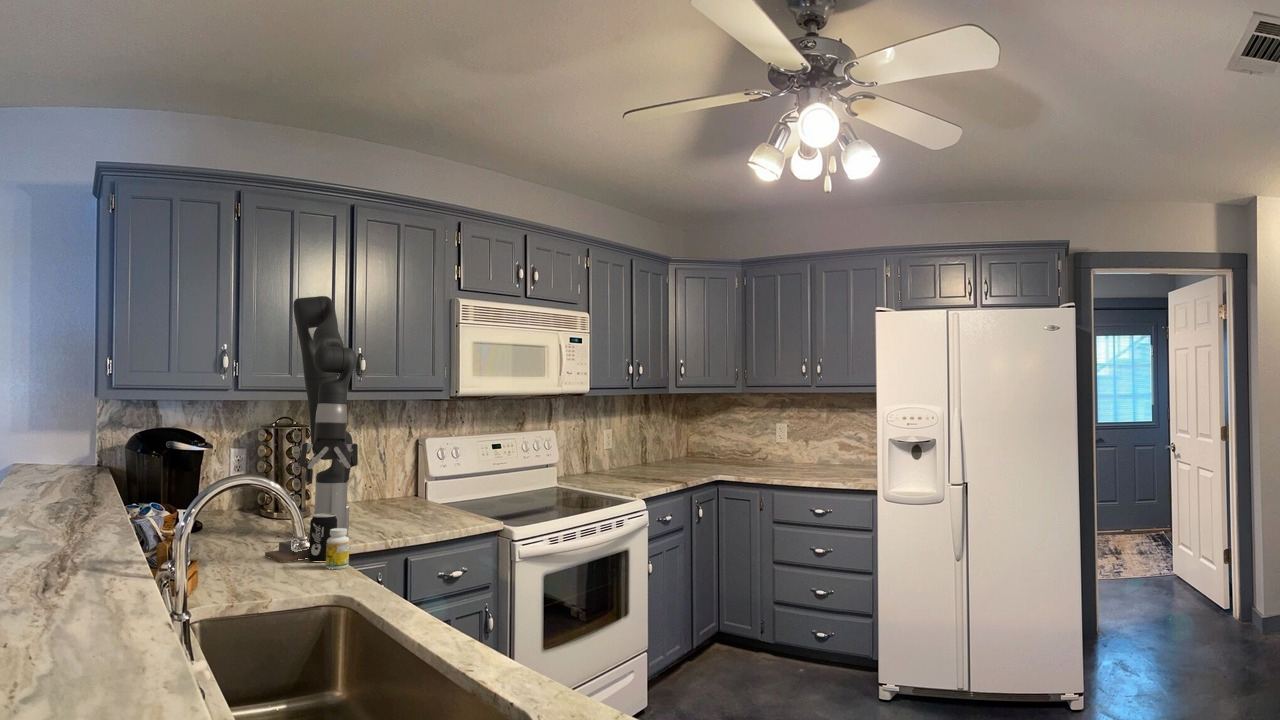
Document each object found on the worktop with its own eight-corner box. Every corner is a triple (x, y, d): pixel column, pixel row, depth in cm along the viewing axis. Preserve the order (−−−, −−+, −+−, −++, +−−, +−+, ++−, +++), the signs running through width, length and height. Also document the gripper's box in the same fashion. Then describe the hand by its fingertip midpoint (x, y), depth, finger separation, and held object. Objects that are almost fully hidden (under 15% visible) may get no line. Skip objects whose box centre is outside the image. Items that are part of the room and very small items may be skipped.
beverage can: (337, 561, 185) (339, 515, 186) (309, 564, 181) (312, 517, 182) (333, 557, 190) (335, 512, 191) (306, 559, 187) (309, 513, 188)
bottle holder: (316, 549, 200) (317, 536, 200) (335, 555, 193) (336, 541, 193) (264, 556, 189) (265, 542, 189) (283, 562, 182) (283, 548, 182)
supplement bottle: (351, 567, 178) (353, 529, 179) (330, 570, 175) (332, 531, 175) (343, 564, 182) (345, 526, 183) (322, 567, 178) (323, 529, 179)
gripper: (354, 422, 193) (351, 481, 191) (298, 420, 185) (294, 483, 183) (362, 422, 187) (359, 483, 185) (305, 420, 179) (300, 484, 177)
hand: (327, 483), depth 184 cm, fingers open, 8 cm apart
